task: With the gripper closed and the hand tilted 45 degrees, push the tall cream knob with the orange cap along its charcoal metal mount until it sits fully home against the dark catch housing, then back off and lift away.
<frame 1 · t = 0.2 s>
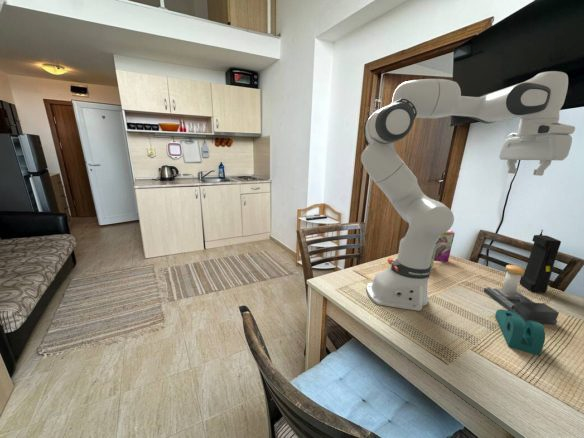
hand: (524, 174, 80), 48 cm above the table, tool pointing down, fingers open, 8 cm apart
bracket: (513, 332, 76), on the table
knob: (511, 281, 91), point 8 cm above the table, slide at 6.0 cm
mount: (510, 302, 91), on the table
coffee can: (420, 265, 120), on the table
wafer cookie box: (435, 259, 127), on the table
portable radio: (533, 289, 101), on the table
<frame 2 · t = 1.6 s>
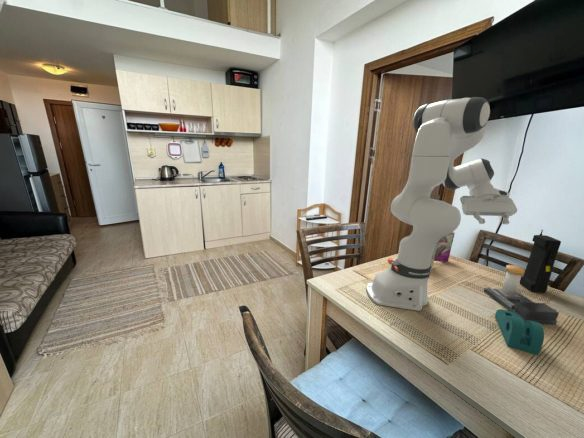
hand: (494, 223, 100), 26 cm above the table, tool tilted 45°, fingers open, 8 cm apart
nothing on the table moved.
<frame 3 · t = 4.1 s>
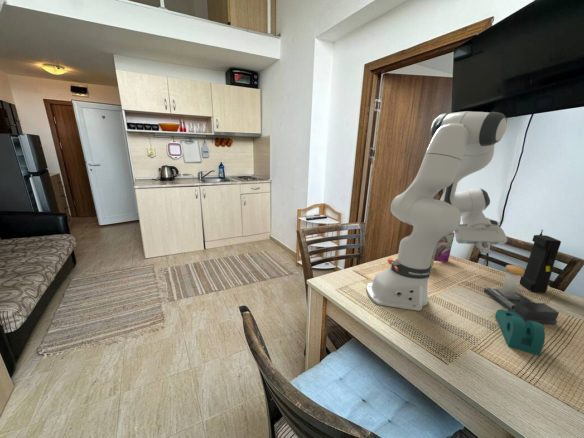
hand: (485, 252, 104), 13 cm above the table, tool tilted 45°, fingers closed
nothing on the table moved.
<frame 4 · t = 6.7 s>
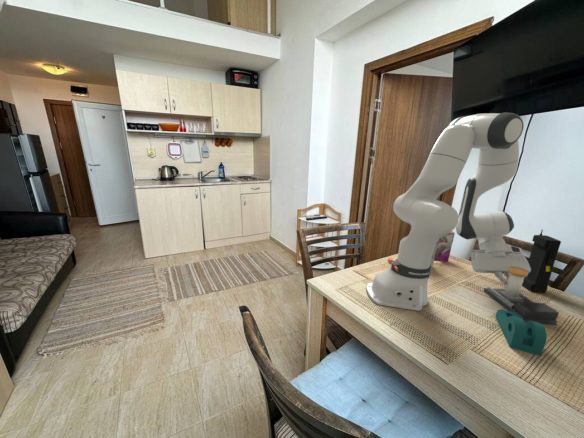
hand: (507, 284, 93), 6 cm above the table, tool tilted 45°, fingers closed, pressing on knob
knob: (514, 283, 90), point 8 cm above the table, slide at 4.6 cm, touching gripper
everything else where it was.
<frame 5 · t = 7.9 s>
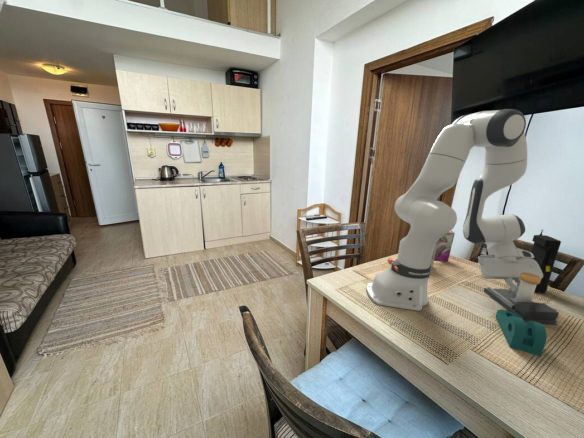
hand: (518, 291, 88), 6 cm above the table, tool tilted 45°, fingers closed, pressing on knob
knob: (525, 291, 85), point 7 cm above the table, slide at -0.2 cm, touching gripper
everything else where it was.
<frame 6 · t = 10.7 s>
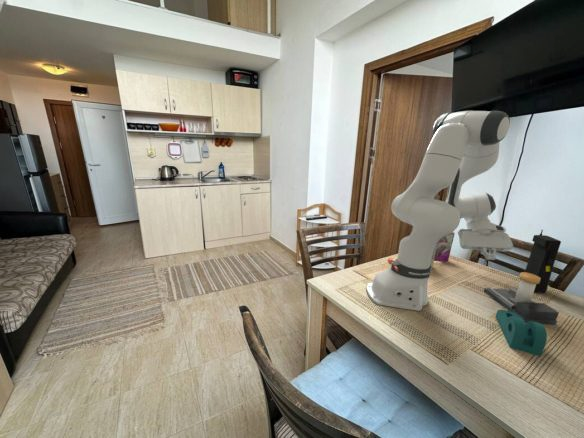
hand: (491, 259, 101), 12 cm above the table, tool tilted 45°, fingers closed
knob: (525, 290, 85), point 8 cm above the table, slide at 0.0 cm
everything else where it was.
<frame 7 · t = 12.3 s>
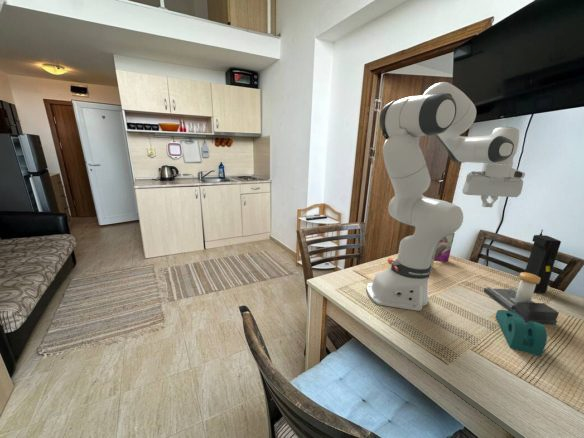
hand: (486, 207, 97), 34 cm above the table, tool pointing down, fingers closed
nothing on the table moved.
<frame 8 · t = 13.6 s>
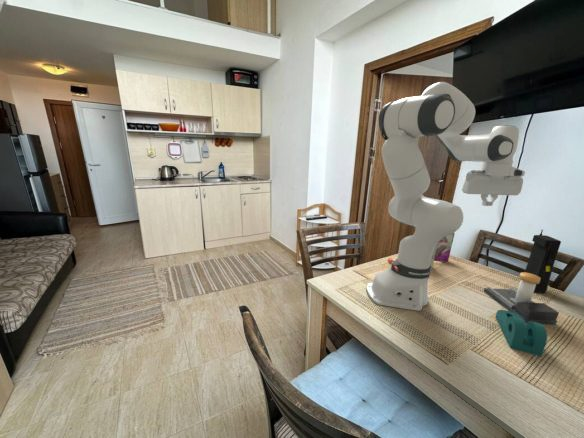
hand: (486, 205, 97), 34 cm above the table, tool pointing down, fingers closed
nothing on the table moved.
at the end: knob slide at 0.0 cm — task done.
